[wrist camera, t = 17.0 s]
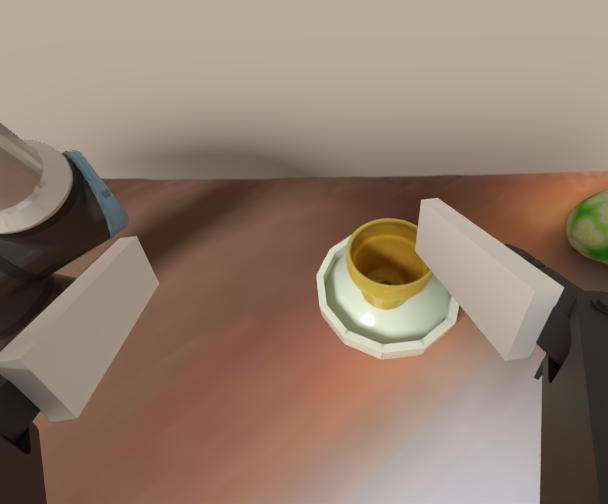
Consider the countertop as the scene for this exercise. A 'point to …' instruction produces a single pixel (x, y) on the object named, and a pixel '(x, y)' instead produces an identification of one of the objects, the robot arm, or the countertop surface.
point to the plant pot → (386, 262)
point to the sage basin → (382, 313)
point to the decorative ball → (590, 227)
